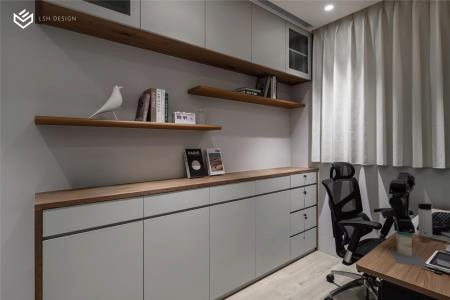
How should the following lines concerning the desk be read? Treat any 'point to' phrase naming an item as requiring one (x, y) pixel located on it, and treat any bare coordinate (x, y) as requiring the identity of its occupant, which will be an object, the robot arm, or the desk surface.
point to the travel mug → (425, 220)
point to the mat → (408, 259)
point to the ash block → (404, 243)
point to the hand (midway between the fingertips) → (400, 234)
